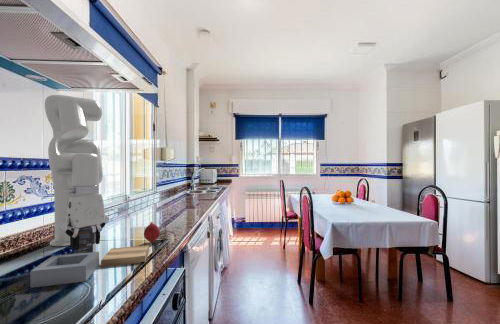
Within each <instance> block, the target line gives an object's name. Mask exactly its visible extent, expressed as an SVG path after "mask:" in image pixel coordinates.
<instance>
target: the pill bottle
mask: <svg viewBox="0 0 500 324" xmlns="http://www.w3.org/2000/svg"><path fill="white" fill-rule="evenodd" d="M77 237H79V249H78V250H74V254H79V253H89V252H97V244H96V226H95V225H94V226H89V227H84V228H80V229H79V231H78V234H77Z"/></svg>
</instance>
